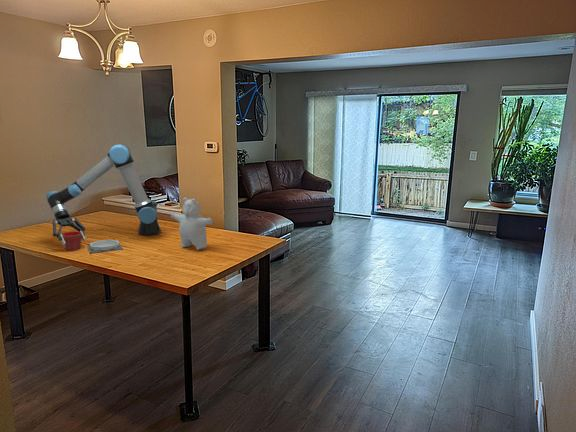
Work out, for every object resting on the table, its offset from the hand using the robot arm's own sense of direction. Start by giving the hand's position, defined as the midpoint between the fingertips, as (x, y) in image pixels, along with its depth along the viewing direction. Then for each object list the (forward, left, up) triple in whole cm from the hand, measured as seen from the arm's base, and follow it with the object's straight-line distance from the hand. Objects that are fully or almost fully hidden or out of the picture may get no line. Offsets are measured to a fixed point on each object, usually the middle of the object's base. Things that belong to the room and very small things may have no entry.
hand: (74, 242), depth 239 cm
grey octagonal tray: (-16, +3, -5) cm, 17 cm away
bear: (-63, +28, -5) cm, 69 cm away
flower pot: (+1, -3, -5) cm, 6 cm away
